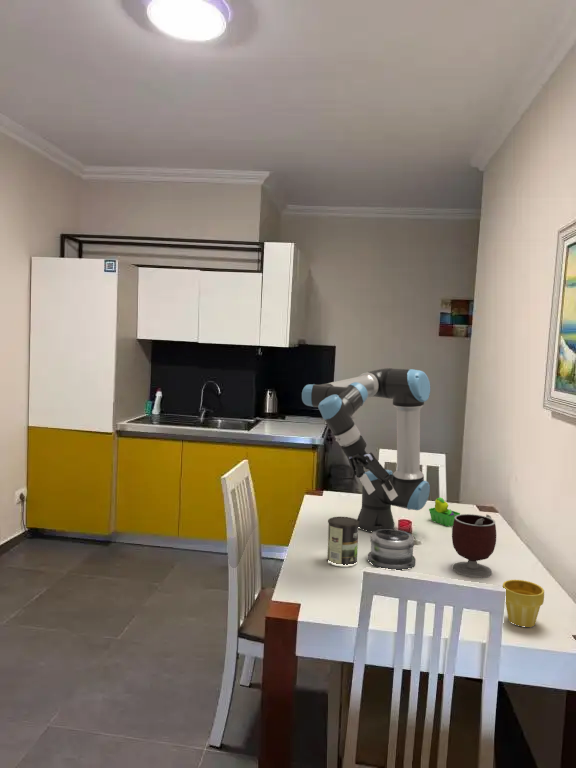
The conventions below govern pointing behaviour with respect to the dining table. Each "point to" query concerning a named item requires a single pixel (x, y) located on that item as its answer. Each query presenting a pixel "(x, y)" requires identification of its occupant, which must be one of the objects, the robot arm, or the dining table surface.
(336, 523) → the coffee can
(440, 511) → the fruit basket
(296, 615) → the dining table surface
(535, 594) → the plant pot
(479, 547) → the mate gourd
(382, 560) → the cylinder
